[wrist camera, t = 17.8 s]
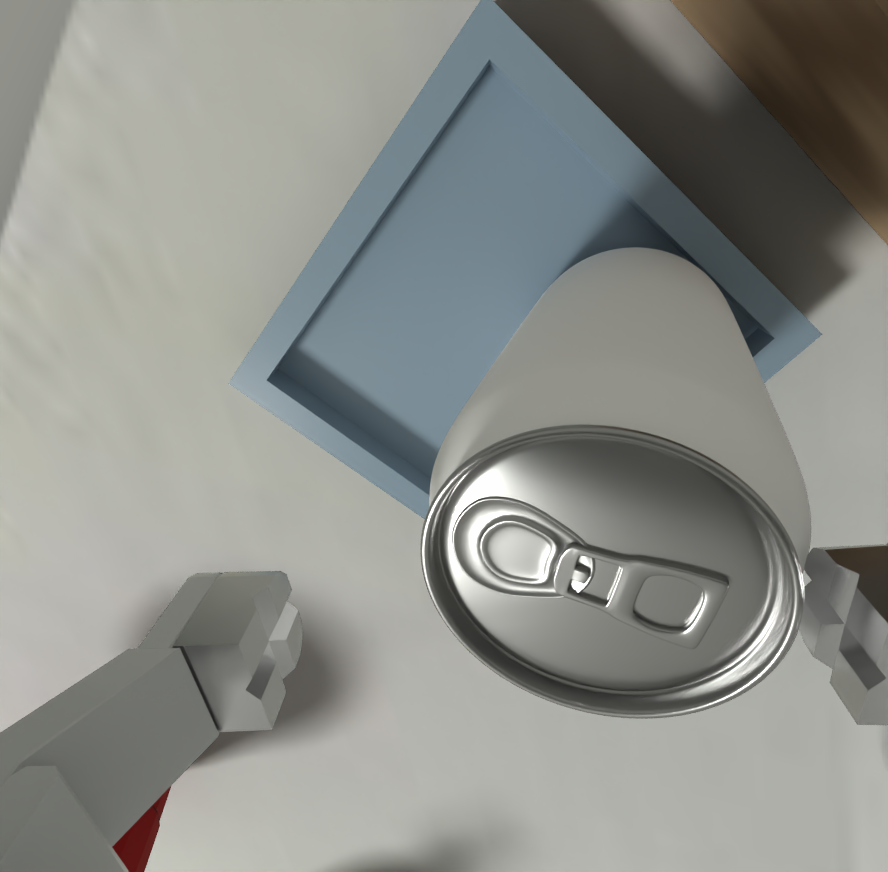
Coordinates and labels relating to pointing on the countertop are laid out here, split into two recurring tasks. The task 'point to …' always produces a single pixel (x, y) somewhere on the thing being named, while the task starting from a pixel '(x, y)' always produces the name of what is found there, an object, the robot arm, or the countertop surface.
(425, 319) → the tray
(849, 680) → the robot arm
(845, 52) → the walnut sleeve
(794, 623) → the can
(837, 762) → the countertop surface
